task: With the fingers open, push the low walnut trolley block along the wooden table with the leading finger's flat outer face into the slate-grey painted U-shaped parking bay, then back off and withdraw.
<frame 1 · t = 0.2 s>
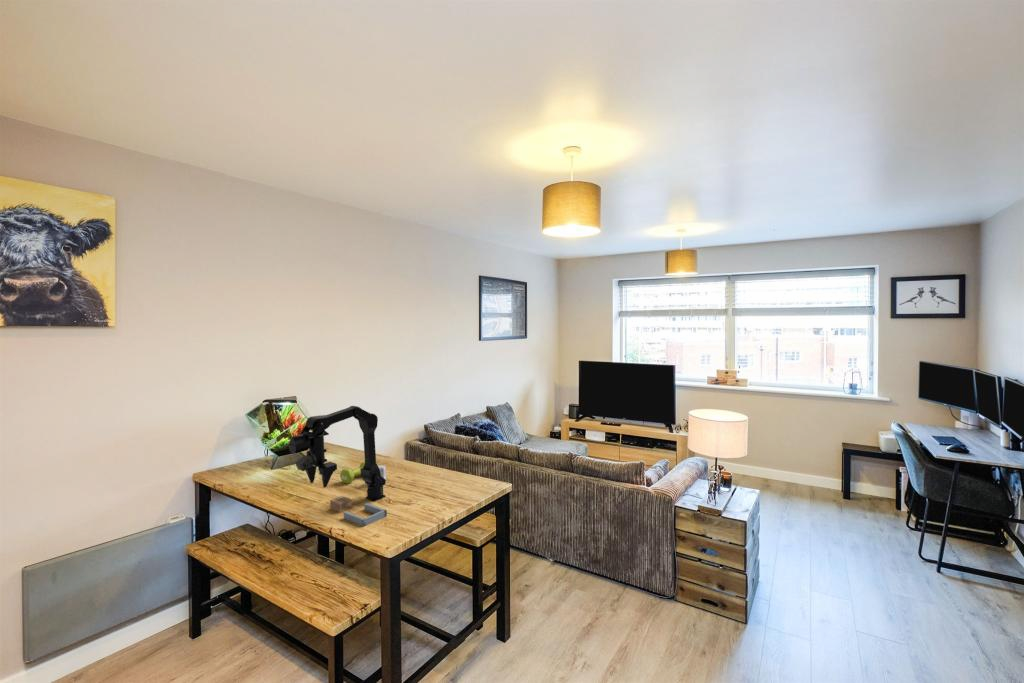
hand: (318, 485, 190), 14 cm above the table, fingers open, 9 cm apart
trolley block: (341, 508, 202), on the table
dumbbell: (356, 479, 239), on the table
medicine box: (377, 484, 231), on the table
parking bay: (364, 516, 193), on the table
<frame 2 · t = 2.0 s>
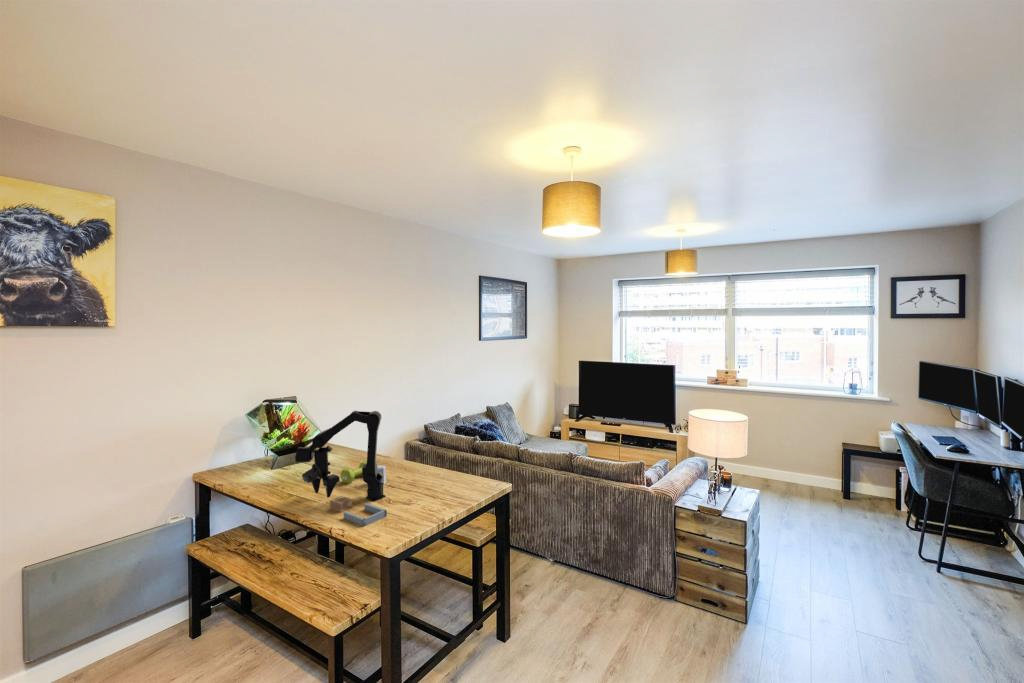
hand: (322, 495, 210), 3 cm above the table, fingers open, 9 cm apart
nothing on the table moved.
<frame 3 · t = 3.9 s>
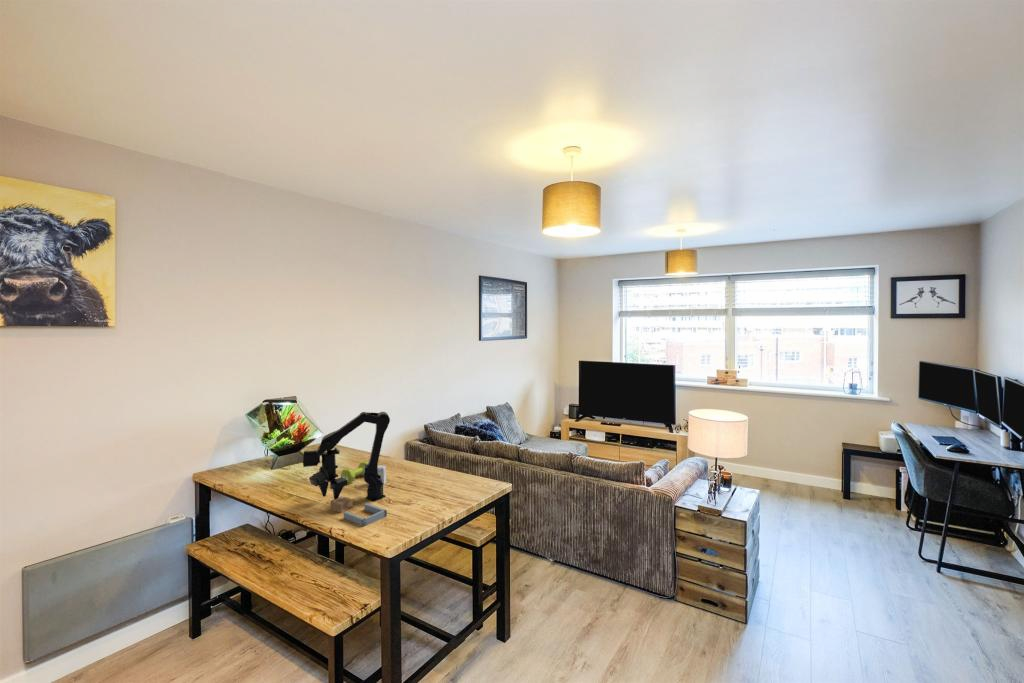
hand: (330, 498, 207), 3 cm above the table, fingers open, 8 cm apart
nothing on the table moved.
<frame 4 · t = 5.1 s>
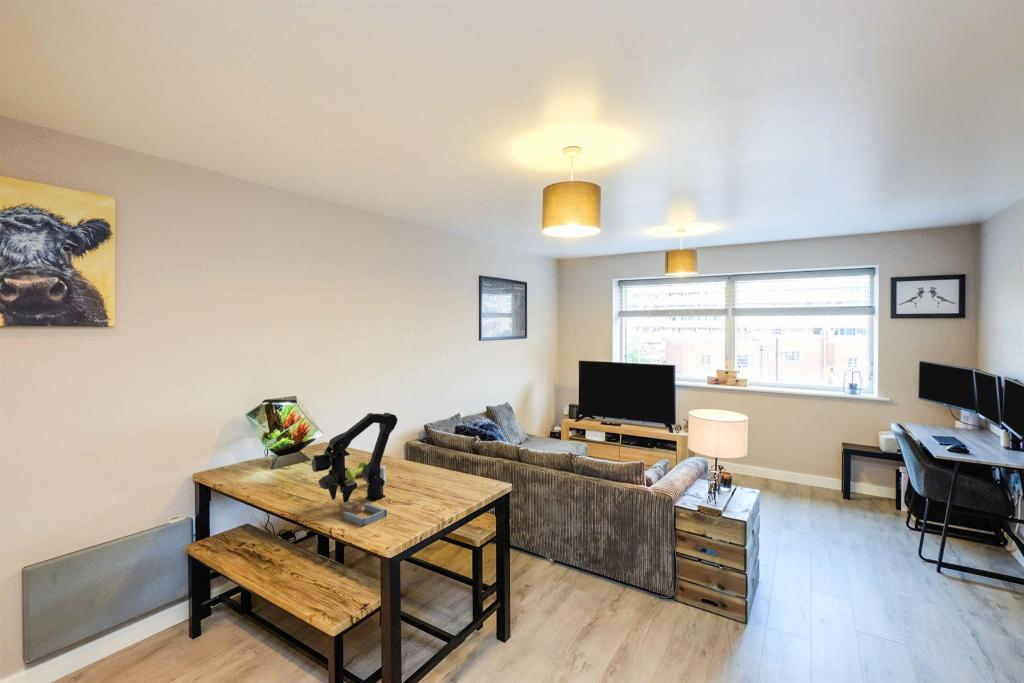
hand: (339, 501, 202), 3 cm above the table, fingers open, 8 cm apart
trolley block: (350, 512, 197), on the table
everything else where it was.
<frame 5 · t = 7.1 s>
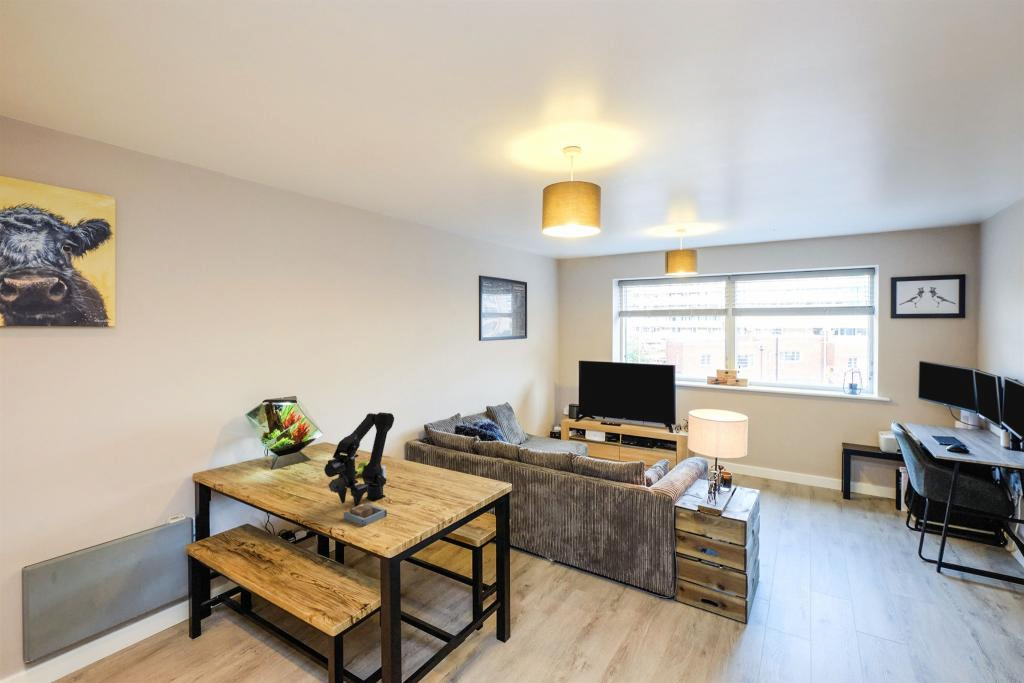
hand: (349, 505, 198), 3 cm above the table, fingers open, 9 cm apart
trolley block: (361, 517, 193), on the table
everything else where it was.
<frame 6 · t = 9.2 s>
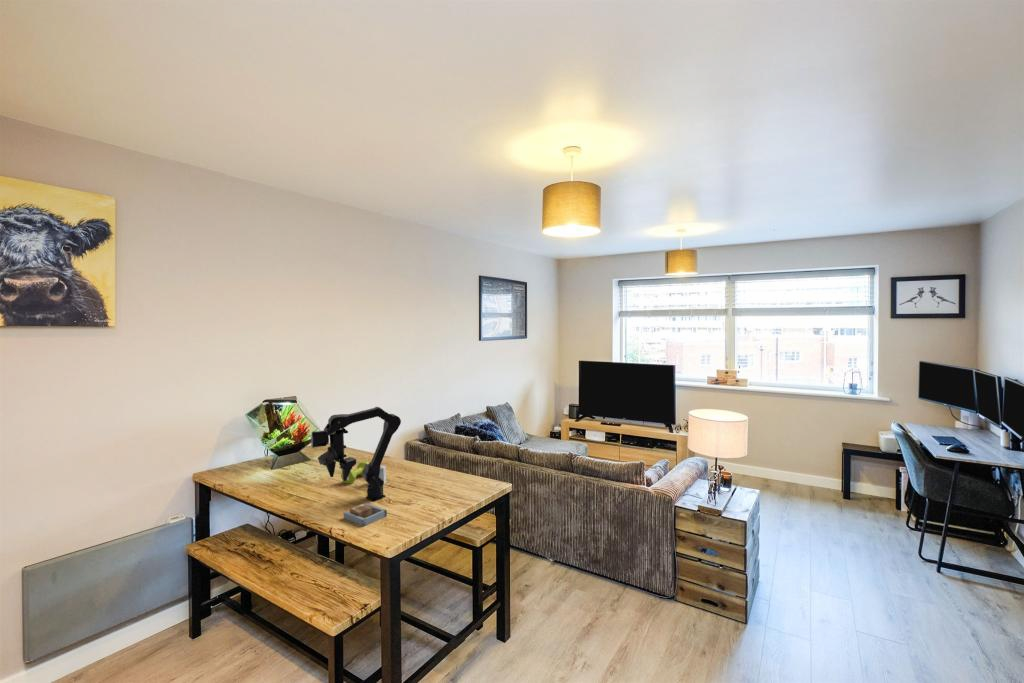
hand: (338, 478, 204), 12 cm above the table, fingers open, 9 cm apart
nothing on the table moved.
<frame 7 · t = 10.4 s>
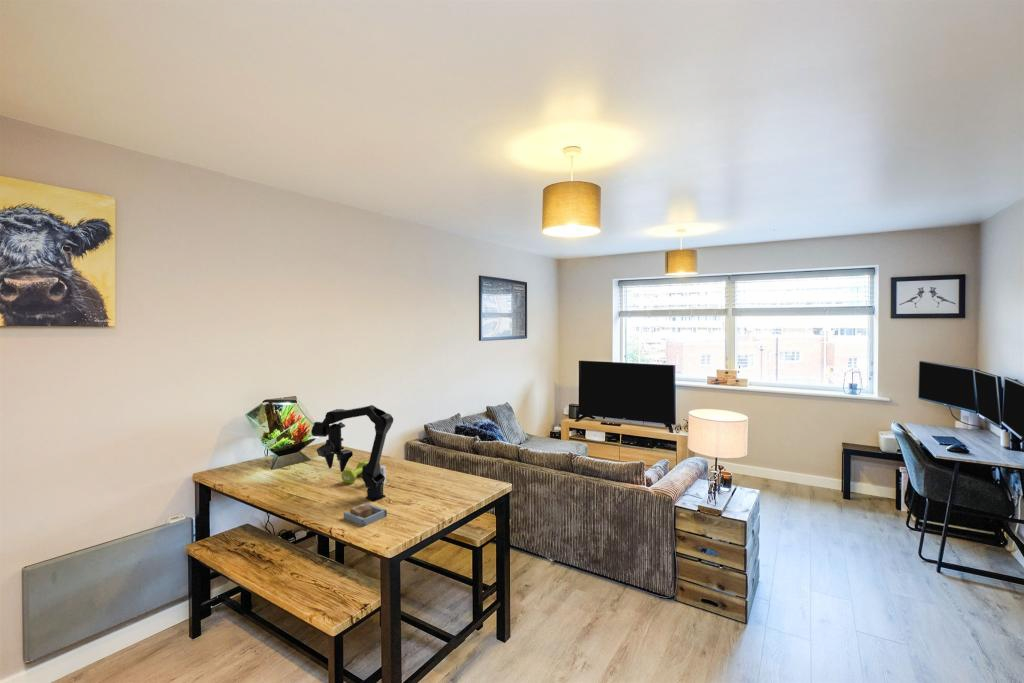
hand: (336, 469, 216), 12 cm above the table, fingers open, 9 cm apart
nothing on the table moved.
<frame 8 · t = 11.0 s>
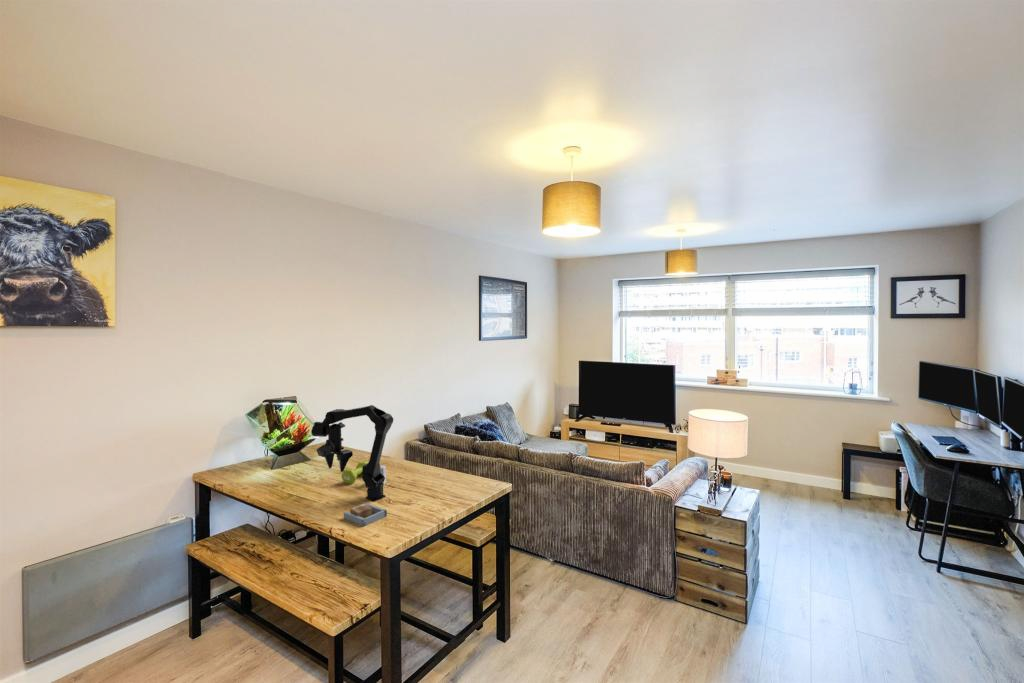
hand: (336, 469, 216), 12 cm above the table, fingers open, 9 cm apart
nothing on the table moved.
at the end: trolley block 1.6 cm off-centre on the parking bay, point 0.0 cm above the parking bay's base; trolley block tilted 0° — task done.
